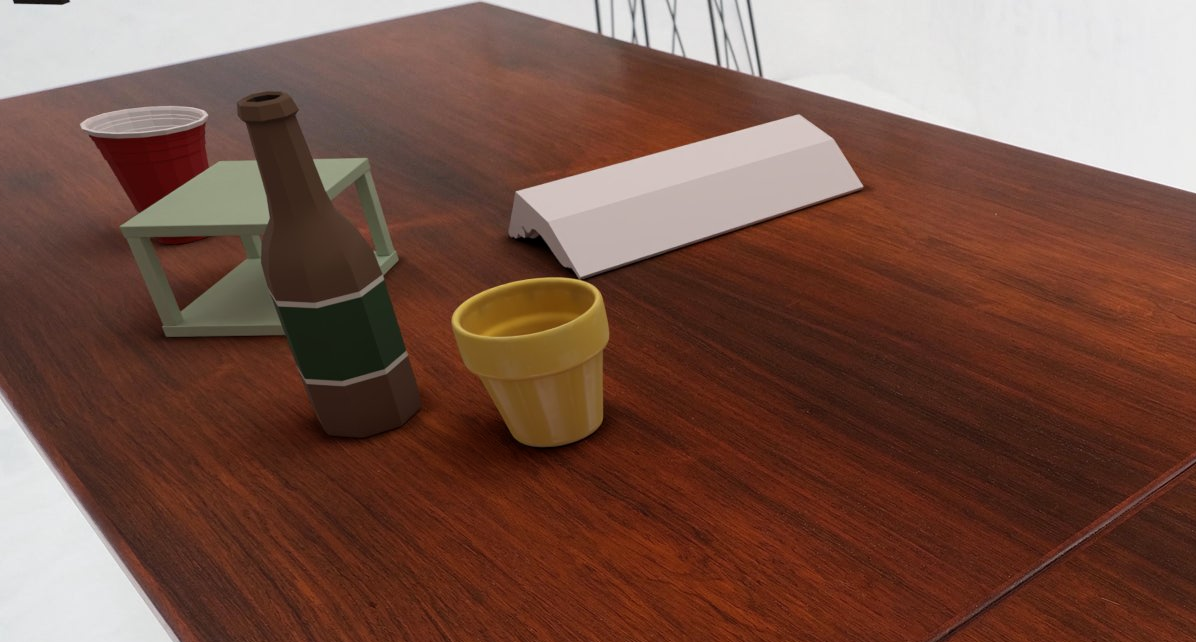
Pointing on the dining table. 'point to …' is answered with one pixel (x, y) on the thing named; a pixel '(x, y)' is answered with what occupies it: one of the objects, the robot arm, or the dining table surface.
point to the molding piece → (683, 195)
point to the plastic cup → (152, 151)
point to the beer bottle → (326, 285)
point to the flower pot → (538, 355)
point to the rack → (239, 208)
